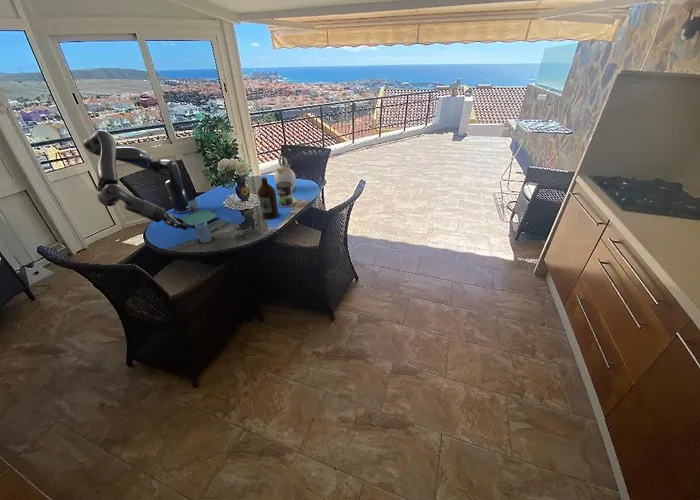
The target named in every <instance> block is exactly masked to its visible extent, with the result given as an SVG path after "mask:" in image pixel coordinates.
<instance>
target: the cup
mask: <svg viewBox="0 0 700 500" xmlns="http://www.w3.org/2000/svg"><path fill="white" fill-rule="evenodd" d="M208 225H209V224H208V223H207V222H199V223H196V224H195V226H194V228H195V230H196V233H197V235H198V239H199V241H200V243H202V244H207V243H210V242H211V241H213V237H212V234H211V231H209V230H210V229H209V228H208Z"/></svg>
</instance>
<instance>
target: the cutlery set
mask: <svg viewBox="0 0 700 500" xmlns="http://www.w3.org/2000/svg"><path fill="white" fill-rule="evenodd" d="M217 218H218V214H217V213H216V212H215V211H213V210H209V209H205V210H203V209H202V210H197V211H194V212H191V213H189V214H187V215H184V216H182V218H181V219H182V220H183V221H184V222H183V223H182V224H183V225H186V226H190V227H195V224H196V223H199V222H207V225H208V228H209V231H210V232H212V231H215V230H217V229H218V228H220V227H222V226H225V225H227V224H230V221H229V220H227V219H224V218H221V219H219V220H216V221H213V220H214V219H217ZM212 221H213V222H212ZM210 222H211V223H210ZM221 223H222V224H221Z"/></svg>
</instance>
